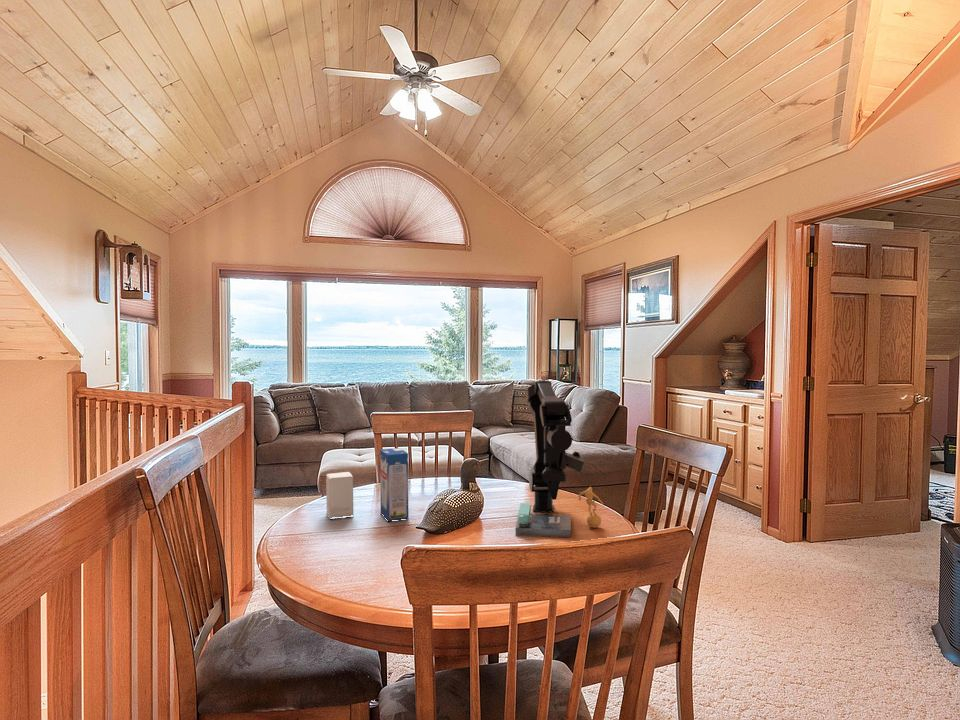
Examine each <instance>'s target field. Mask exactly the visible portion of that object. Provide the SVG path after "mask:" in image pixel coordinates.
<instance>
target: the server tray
mask: <svg viewBox="0 0 960 720" xmlns="http://www.w3.org/2000/svg"><path fill="white" fill-rule="evenodd" d="M516 520H517V521H516V524H515V536H529V537H531V536H532V537H549V538H550V537H552V538H553V537H554V538H556V537H557V538H571V537H572V523H571V514H570V513H569V514H565V513H564V514H563V513H544V512H539V513H538V512H536V513H535V512H530V517H529V523H528V524H519V523H518V518H517V519H516Z"/></svg>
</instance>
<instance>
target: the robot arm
mask: <svg viewBox="0 0 960 720" xmlns="http://www.w3.org/2000/svg"><path fill="white" fill-rule="evenodd" d="M552 385H553V384H552V381H549V380H536V381H534V384H532V385H530V386H528V387H527V388H526V391H525V401H526V402H525V403H527V407H528V408H527V409H528V410H529V412H530V413H531V414H532V415H533V425H534V426H533V427H534V440H535V441H534V442H535V443H534V444H535V458H536V459H535V460H536V461H535V462H534V464H533V466H532V468H531V472H530V476H529V481H528V485H529V490H530V492H531V493H533V492H534V504H533V508H532V512H533V513H535V512H536V513H538V512H539V513H554V512H555V505H554V504H553V503H554V501H553V500H557V499H558V498H557V497H558V492H559V490H560V483H561V482H566V481H567V480H566V477H567V475H566V470H565V469H566V467H567V468H570V469H573V470H574V471H576V472H577V473H582V471H583V468H584V465H585V463H586V462H585V458H583V457H581V454H580V452H578V451H573V452H572V453H569V452H566V451H568V449H569V448H570V447H571V446H572V443H573V437H572V435H571V433H570V432H569V431H568V430H566V427H571V426H572V424H571V423H572V421H573V419H572V414H571V409H570V408H569V405H568V404H567V403H566V401H565V400H564V399H563V398H560V397H558V396H557V395H556V393H555V391H554V388H553V386H552Z"/></svg>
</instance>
